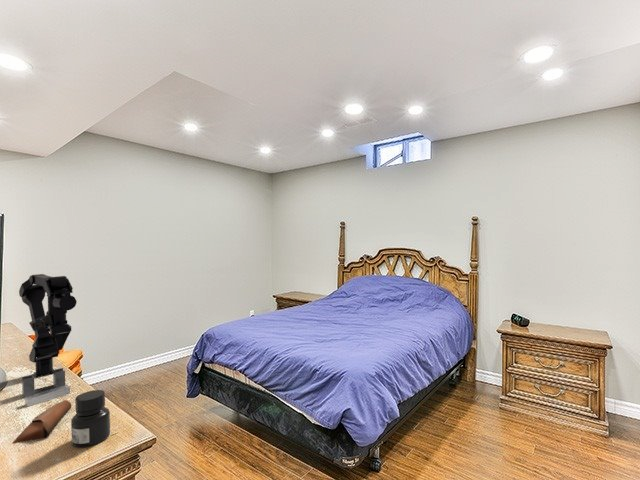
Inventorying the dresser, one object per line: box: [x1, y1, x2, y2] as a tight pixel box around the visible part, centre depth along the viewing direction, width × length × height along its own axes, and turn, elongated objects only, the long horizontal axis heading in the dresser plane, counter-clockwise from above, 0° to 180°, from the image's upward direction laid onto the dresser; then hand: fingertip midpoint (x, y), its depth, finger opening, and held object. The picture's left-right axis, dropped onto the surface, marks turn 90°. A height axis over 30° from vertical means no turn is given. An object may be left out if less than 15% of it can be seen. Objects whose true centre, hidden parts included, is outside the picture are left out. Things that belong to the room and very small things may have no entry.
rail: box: [24, 384, 71, 408], centre depth 122 cm, size 3×12×3 cm, turn 143°
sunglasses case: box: [13, 399, 72, 444], centre depth 104 cm, size 18×7×7 cm, turn 19°
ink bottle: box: [70, 389, 111, 448], centre depth 96 cm, size 10×9×12 cm
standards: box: [21, 367, 66, 399], centre depth 129 cm, size 5×12×6 cm, turn 135°
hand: (58, 347), depth 139 cm, fingers open, 9 cm apart
